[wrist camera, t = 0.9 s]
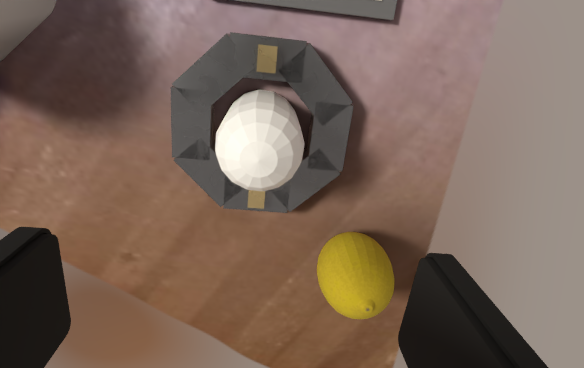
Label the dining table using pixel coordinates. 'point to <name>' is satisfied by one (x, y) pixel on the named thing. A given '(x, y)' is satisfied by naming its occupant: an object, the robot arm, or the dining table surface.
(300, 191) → the socket ring
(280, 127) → the capsule
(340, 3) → the mat
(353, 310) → the lemon
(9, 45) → the toilet tissue
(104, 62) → the dining table surface
